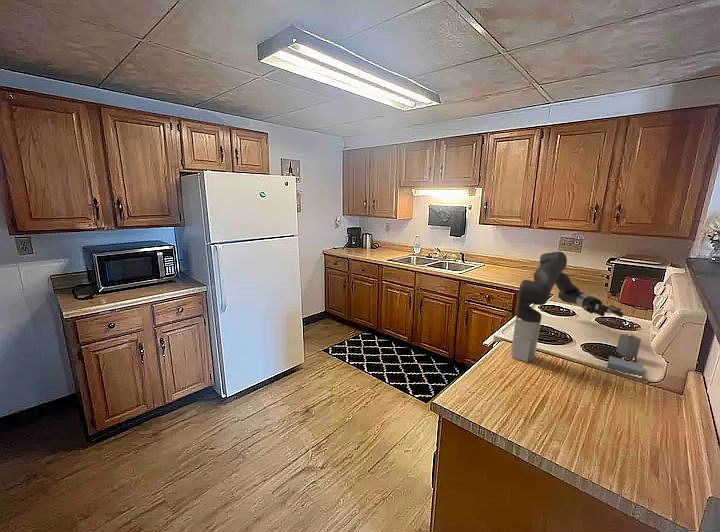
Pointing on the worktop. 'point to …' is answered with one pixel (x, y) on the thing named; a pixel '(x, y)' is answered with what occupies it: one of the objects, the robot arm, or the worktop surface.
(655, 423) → the worktop surface
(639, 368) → the coupler plate
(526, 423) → the worktop surface
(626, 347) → the block
